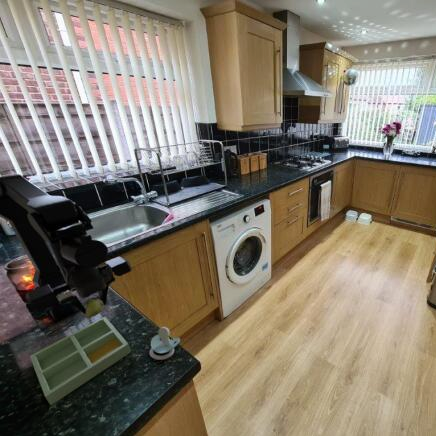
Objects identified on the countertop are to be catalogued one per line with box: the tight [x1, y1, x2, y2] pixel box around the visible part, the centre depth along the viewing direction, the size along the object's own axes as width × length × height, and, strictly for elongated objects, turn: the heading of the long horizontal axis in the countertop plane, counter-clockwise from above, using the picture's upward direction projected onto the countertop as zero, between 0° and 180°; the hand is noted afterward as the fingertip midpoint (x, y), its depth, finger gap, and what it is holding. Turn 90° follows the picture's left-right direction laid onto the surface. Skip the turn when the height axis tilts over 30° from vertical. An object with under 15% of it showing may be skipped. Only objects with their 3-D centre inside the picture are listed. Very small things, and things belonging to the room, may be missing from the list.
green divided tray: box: [29, 316, 132, 406], centre depth 60 cm, size 15×15×3 cm
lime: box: [84, 295, 104, 319], centre depth 60 cm, size 4×5×5 cm
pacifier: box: [148, 326, 181, 361], centre depth 61 cm, size 7×6×6 cm
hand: (95, 308), depth 61 cm, fingers closed on lime, 3 cm apart
